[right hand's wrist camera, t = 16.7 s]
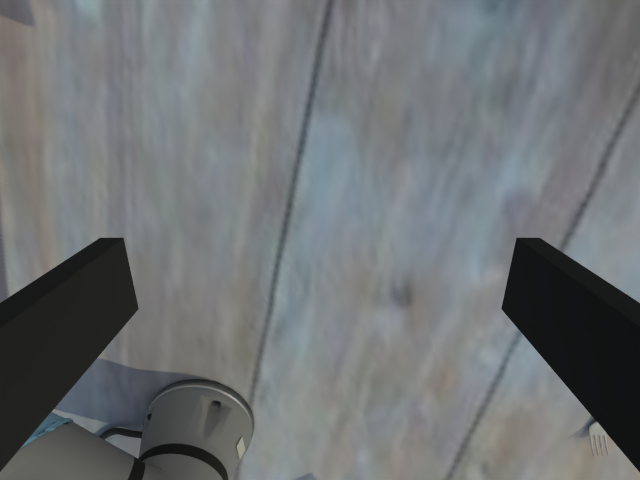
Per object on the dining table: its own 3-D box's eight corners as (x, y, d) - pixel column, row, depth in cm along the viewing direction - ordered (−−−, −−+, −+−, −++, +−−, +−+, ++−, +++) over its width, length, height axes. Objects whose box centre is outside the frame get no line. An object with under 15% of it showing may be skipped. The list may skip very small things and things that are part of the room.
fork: (630, 358, 49) (642, 369, 48) (600, 444, 55) (609, 456, 53) (610, 359, 49) (621, 369, 48) (582, 444, 55) (592, 456, 53)
